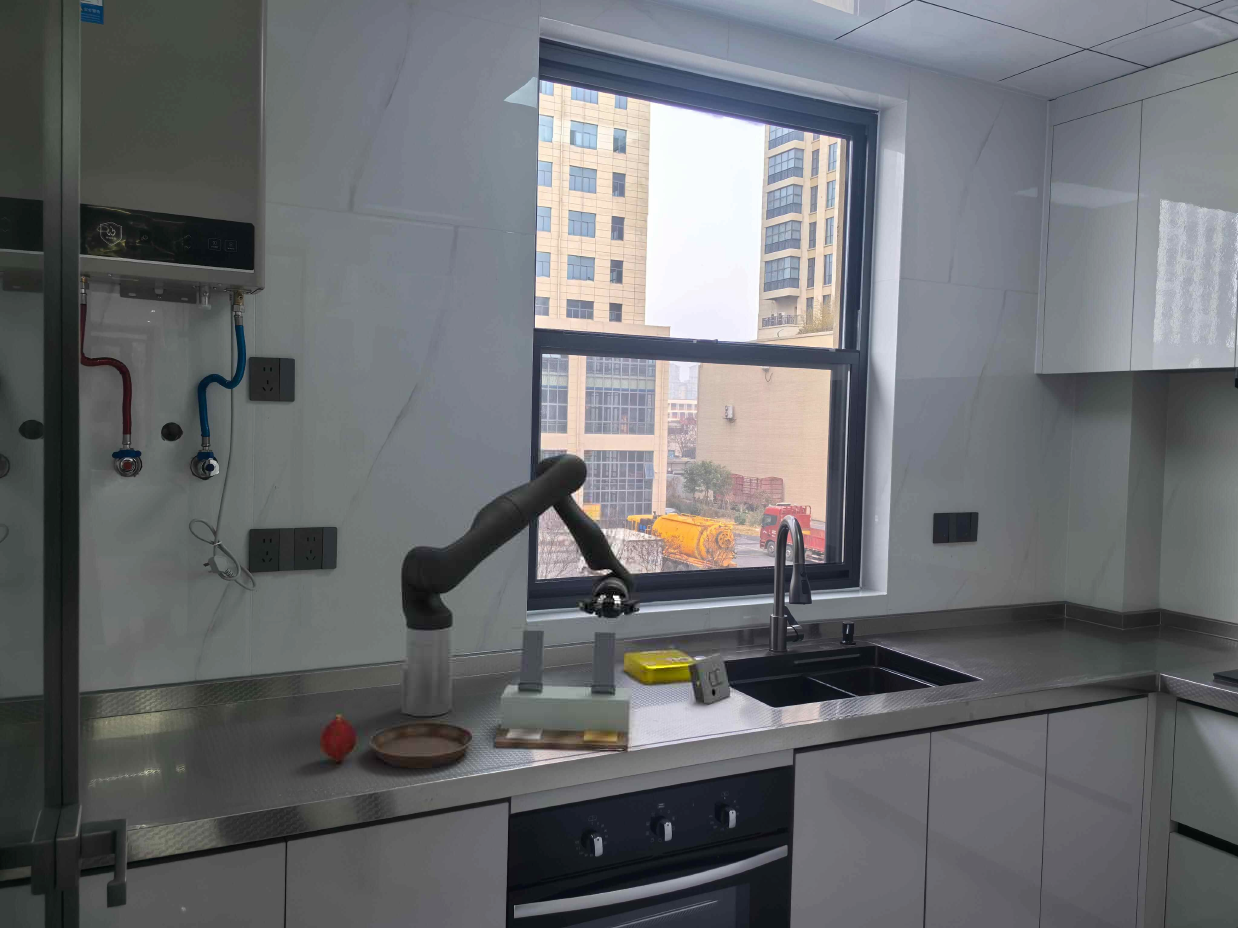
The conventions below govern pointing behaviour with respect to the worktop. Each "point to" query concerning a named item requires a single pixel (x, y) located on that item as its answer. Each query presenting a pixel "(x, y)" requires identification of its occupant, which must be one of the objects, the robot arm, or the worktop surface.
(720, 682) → the electrical switch
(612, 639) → the right lever
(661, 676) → the element tile
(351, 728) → the onion
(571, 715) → the block
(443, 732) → the plant saucer
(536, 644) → the left lever
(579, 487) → the robot arm
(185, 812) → the worktop surface
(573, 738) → the brown rectangular board
